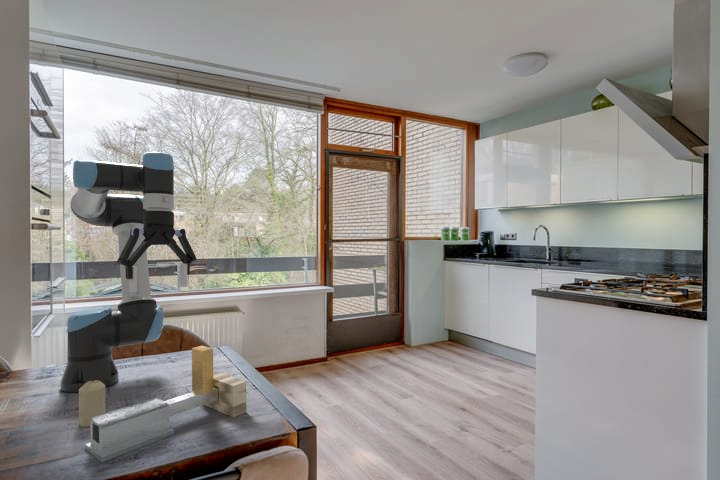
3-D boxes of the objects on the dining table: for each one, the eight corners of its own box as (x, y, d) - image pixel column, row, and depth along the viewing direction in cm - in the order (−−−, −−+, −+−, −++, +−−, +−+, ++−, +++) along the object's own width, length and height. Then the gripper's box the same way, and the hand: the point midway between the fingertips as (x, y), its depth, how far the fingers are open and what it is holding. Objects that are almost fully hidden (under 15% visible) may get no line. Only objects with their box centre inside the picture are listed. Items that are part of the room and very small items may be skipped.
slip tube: (133, 422, 94) (132, 361, 94) (219, 392, 112) (219, 341, 112) (143, 428, 91) (142, 365, 91) (230, 396, 109) (229, 344, 109)
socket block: (198, 402, 113) (198, 373, 113) (211, 397, 116) (211, 369, 116) (233, 417, 103) (232, 385, 103) (246, 412, 106) (246, 381, 106)
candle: (85, 429, 97) (85, 387, 97) (74, 423, 100) (74, 383, 100) (110, 420, 102) (109, 380, 102) (98, 415, 105) (98, 376, 105)
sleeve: (85, 448, 88) (84, 416, 88) (155, 423, 100) (155, 395, 100) (102, 462, 82) (101, 428, 82) (174, 434, 94) (173, 404, 94)
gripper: (114, 207, 98) (115, 295, 98) (208, 212, 118) (209, 285, 118) (101, 209, 103) (102, 293, 103) (194, 213, 122) (195, 283, 122)
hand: (159, 289), depth 110 cm, fingers open, 13 cm apart
